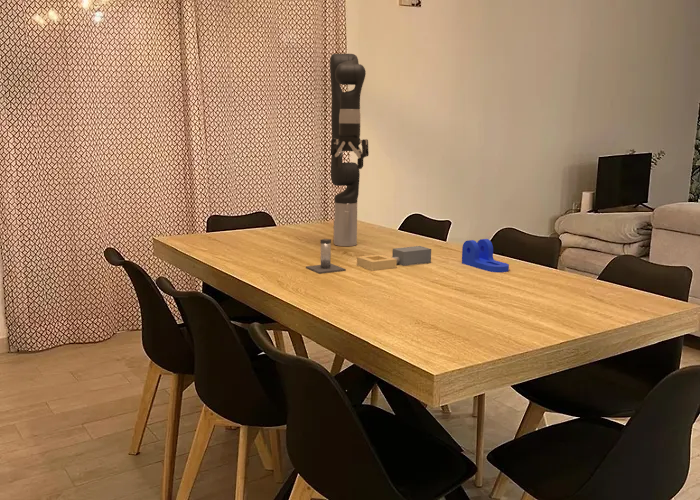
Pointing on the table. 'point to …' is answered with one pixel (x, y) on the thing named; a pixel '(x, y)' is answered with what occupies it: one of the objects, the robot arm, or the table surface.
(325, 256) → the square capped bottle
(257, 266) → the table surface
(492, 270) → the bracket
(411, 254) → the tray with grey block
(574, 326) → the table surface
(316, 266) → the mat
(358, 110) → the robot arm
